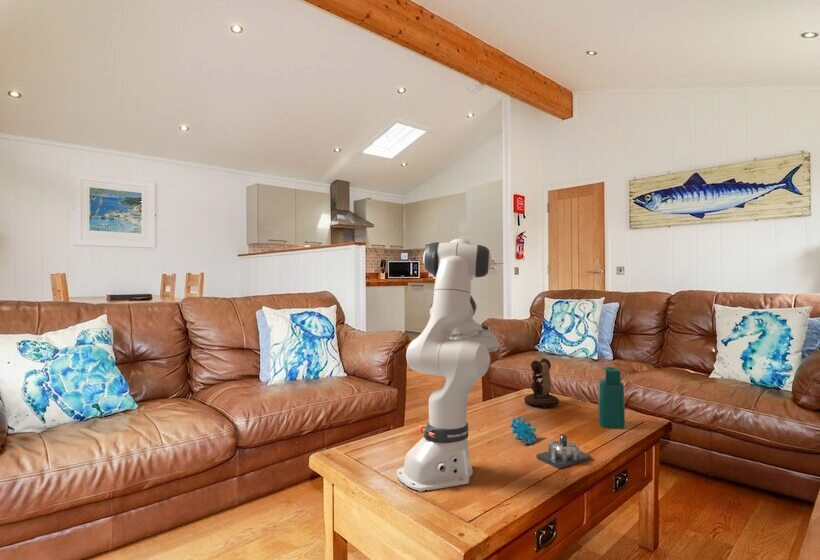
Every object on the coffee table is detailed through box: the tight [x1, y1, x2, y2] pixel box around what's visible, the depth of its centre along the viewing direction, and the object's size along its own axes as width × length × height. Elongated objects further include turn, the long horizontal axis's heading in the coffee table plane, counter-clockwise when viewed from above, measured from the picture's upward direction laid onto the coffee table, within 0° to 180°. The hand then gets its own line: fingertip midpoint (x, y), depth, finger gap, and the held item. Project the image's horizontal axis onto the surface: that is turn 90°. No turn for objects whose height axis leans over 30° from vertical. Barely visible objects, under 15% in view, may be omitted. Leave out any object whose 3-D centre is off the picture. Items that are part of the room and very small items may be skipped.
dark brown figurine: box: [523, 358, 560, 410], centre depth 196 cm, size 15×15×20 cm
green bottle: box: [597, 366, 626, 429], centre depth 167 cm, size 10×8×22 cm
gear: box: [509, 416, 538, 446], centre depth 154 cm, size 11×6×10 cm
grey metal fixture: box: [536, 434, 592, 470], centre depth 138 cm, size 14×9×7 cm, turn 118°
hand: (484, 360), depth 172 cm, fingers closed
